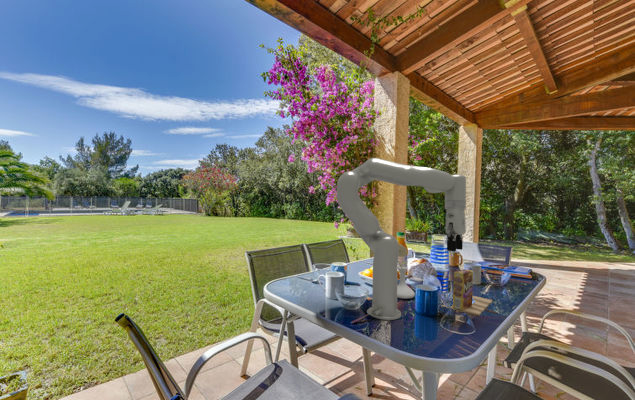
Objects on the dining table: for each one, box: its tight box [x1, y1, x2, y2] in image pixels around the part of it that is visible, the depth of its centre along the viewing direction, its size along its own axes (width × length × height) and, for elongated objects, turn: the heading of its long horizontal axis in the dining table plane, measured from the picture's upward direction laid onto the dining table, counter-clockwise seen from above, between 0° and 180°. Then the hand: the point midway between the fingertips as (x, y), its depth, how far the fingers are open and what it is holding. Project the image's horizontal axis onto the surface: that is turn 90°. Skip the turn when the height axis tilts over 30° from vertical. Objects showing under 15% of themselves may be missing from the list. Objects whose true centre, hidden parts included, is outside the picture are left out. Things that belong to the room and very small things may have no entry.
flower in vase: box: [397, 243, 416, 300], centre depth 132 cm, size 13×11×25 cm
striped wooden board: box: [440, 295, 494, 317], centre depth 122 cm, size 26×14×1 cm, turn 137°
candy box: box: [452, 269, 474, 310], centre depth 117 cm, size 9×4×15 cm, turn 126°
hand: (454, 249), depth 110 cm, fingers open, 7 cm apart
